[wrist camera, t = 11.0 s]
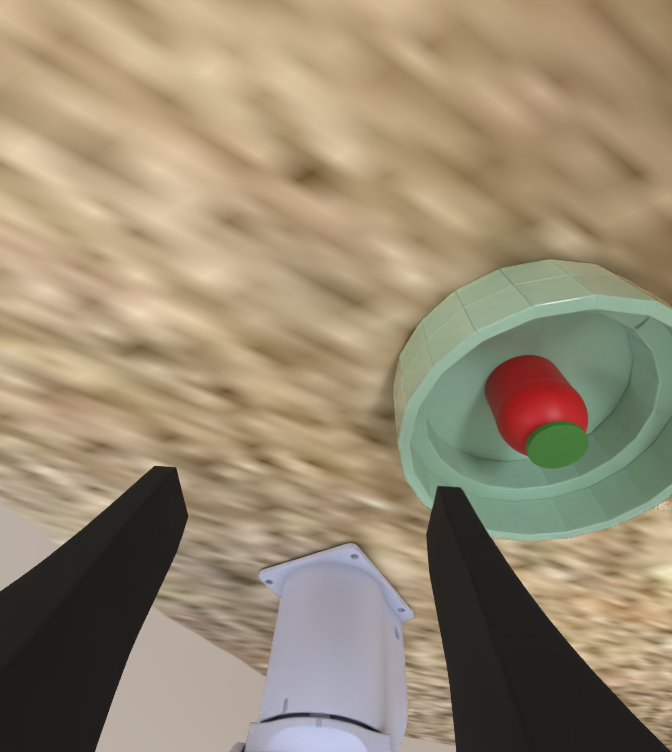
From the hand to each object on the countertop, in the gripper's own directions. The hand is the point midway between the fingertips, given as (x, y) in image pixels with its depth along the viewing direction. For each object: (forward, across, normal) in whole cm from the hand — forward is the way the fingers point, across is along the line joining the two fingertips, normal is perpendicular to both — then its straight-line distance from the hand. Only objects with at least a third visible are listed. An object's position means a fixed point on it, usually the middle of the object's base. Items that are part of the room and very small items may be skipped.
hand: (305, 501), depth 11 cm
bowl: (+9, -9, +1) cm, 13 cm away
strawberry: (+9, -9, +1) cm, 13 cm away
